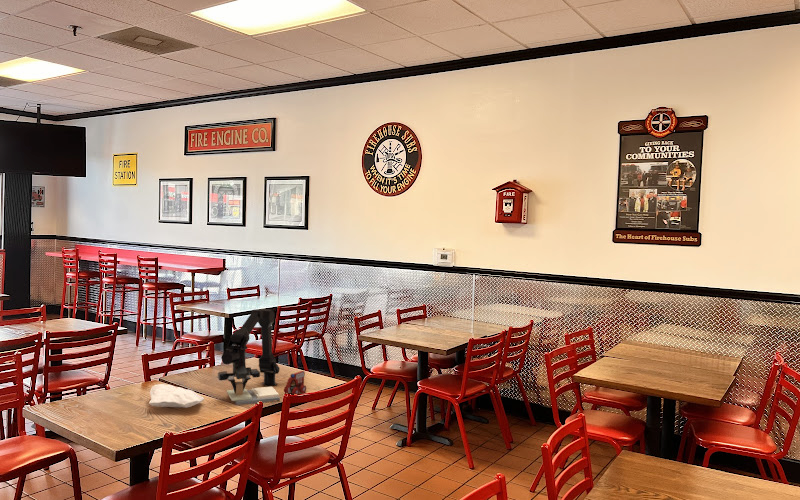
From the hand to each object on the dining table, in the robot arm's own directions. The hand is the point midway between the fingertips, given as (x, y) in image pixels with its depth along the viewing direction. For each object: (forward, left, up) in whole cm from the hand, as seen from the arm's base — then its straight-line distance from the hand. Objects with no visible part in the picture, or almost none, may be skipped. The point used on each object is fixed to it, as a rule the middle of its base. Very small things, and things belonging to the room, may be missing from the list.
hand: (238, 392), depth 293 cm
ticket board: (0, +7, -3) cm, 8 cm away
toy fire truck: (-1, +27, -4) cm, 28 cm away
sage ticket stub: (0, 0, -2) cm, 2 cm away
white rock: (+1, -30, -4) cm, 30 cm away
